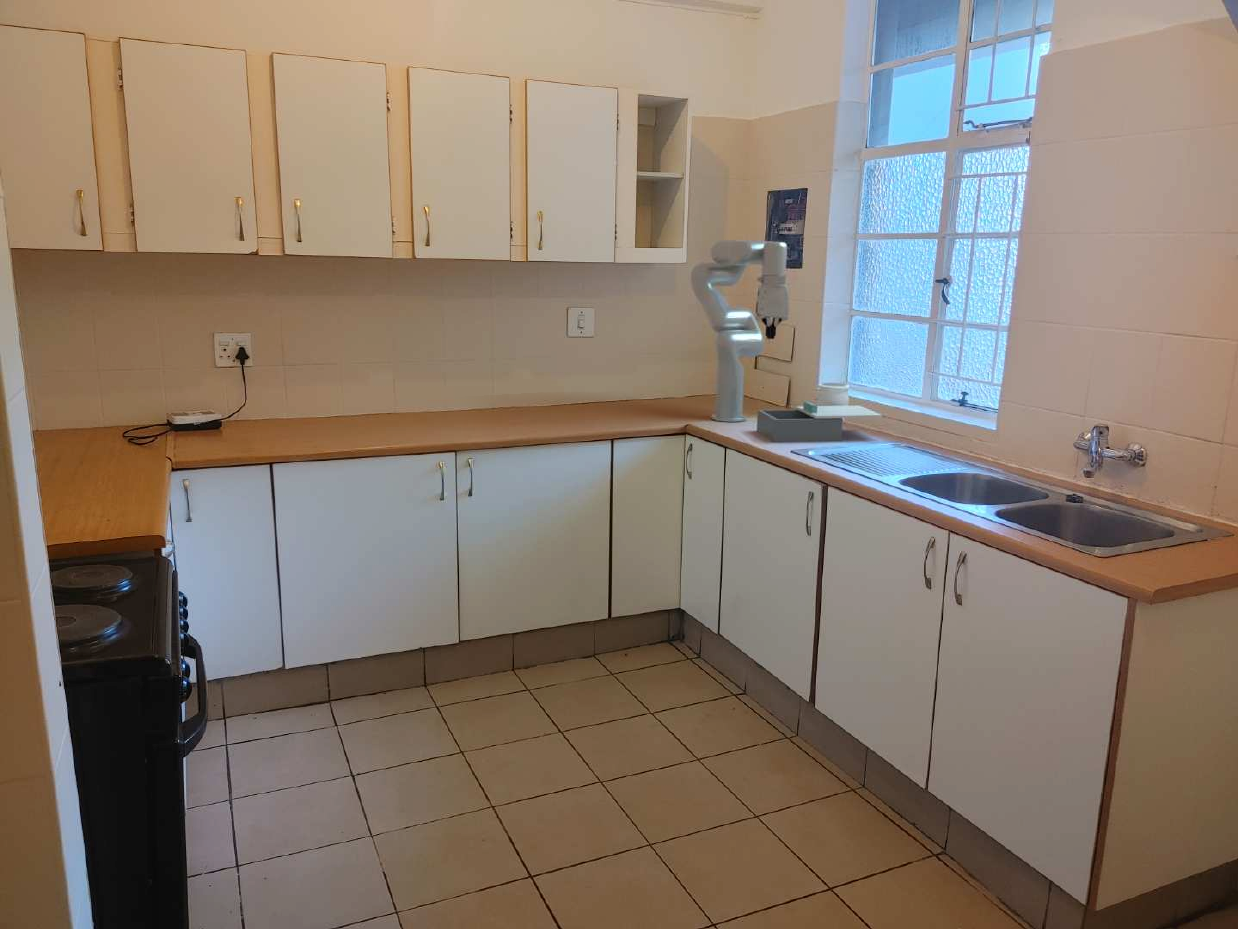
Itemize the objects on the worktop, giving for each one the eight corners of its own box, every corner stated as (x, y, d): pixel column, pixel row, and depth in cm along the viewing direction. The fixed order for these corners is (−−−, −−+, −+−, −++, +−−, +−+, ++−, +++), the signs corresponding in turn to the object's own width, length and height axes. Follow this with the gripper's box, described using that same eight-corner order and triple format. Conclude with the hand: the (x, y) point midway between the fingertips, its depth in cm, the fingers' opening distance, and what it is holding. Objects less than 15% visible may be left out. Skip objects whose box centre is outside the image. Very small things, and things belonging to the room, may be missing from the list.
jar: (847, 431, 309) (850, 387, 305) (815, 430, 311) (818, 386, 307) (846, 426, 319) (849, 383, 315) (815, 424, 321) (818, 381, 317)
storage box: (756, 433, 303) (757, 410, 301) (820, 432, 306) (821, 409, 304) (773, 445, 285) (775, 420, 283) (841, 444, 289) (842, 419, 287)
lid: (795, 408, 303) (796, 399, 302) (859, 407, 306) (859, 398, 305) (815, 418, 285) (816, 408, 285) (882, 417, 289) (883, 407, 288)
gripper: (754, 281, 290) (751, 339, 294) (799, 281, 292) (796, 339, 297) (747, 280, 297) (744, 337, 301) (791, 280, 300) (788, 337, 304)
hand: (770, 338), depth 299 cm, fingers closed
